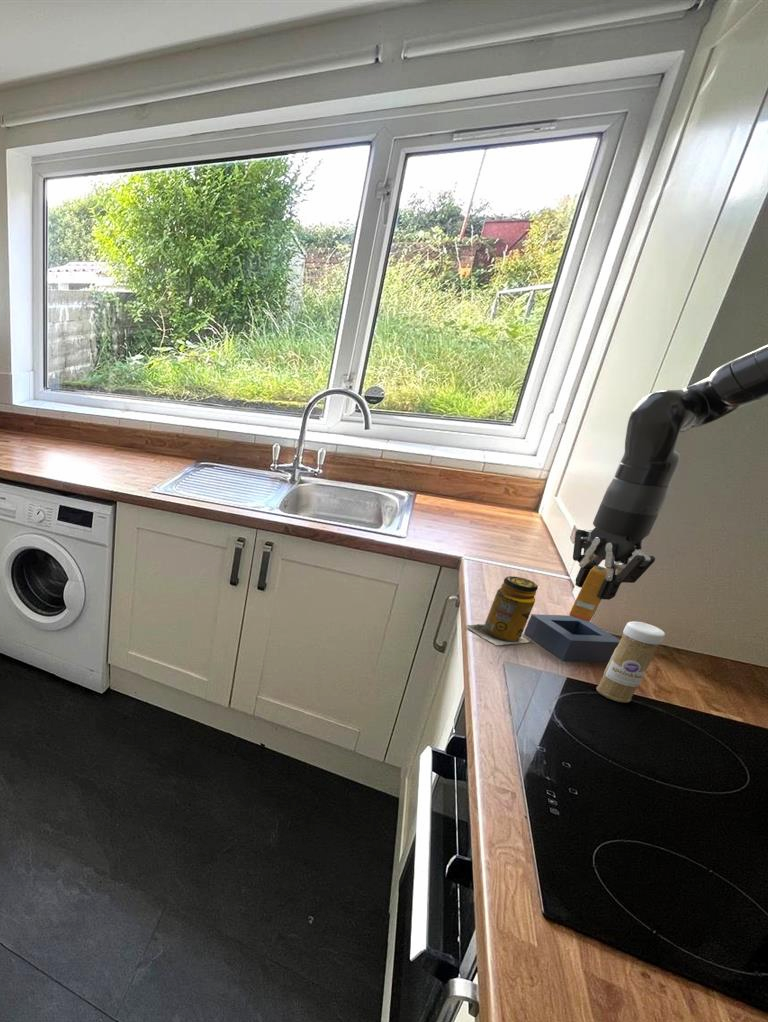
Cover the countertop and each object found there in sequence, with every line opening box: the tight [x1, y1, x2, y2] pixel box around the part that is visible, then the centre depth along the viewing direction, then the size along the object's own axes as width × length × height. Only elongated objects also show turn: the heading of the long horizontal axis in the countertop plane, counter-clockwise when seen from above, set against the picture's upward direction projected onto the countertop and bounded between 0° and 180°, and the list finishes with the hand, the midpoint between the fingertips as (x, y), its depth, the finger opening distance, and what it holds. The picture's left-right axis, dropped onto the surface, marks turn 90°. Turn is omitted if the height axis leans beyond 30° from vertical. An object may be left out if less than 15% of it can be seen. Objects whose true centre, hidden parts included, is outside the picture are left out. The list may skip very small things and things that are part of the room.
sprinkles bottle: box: [596, 620, 666, 704], centre depth 96 cm, size 5×5×13 cm
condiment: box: [464, 575, 539, 646], centre depth 115 cm, size 7×8×12 cm
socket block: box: [523, 613, 621, 664], centre depth 112 cm, size 10×10×4 cm
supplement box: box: [568, 565, 607, 622], centre depth 108 cm, size 3×4×10 cm
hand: (592, 592), depth 108 cm, fingers closed on supplement box, 4 cm apart
